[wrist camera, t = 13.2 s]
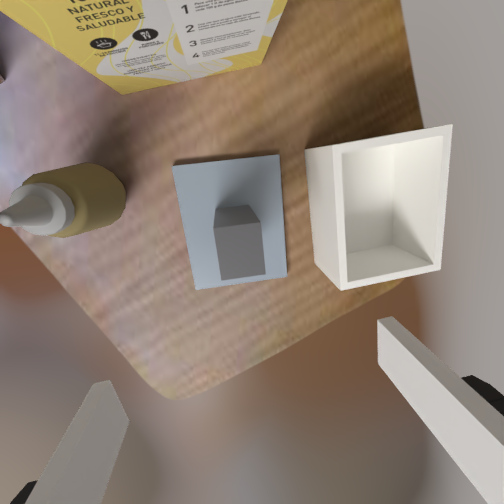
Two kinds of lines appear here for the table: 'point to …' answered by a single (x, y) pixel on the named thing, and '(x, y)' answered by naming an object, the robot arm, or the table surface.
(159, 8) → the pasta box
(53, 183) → the squeeze bottle
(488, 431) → the robot arm
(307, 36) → the table surface
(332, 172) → the carton
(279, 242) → the lid
